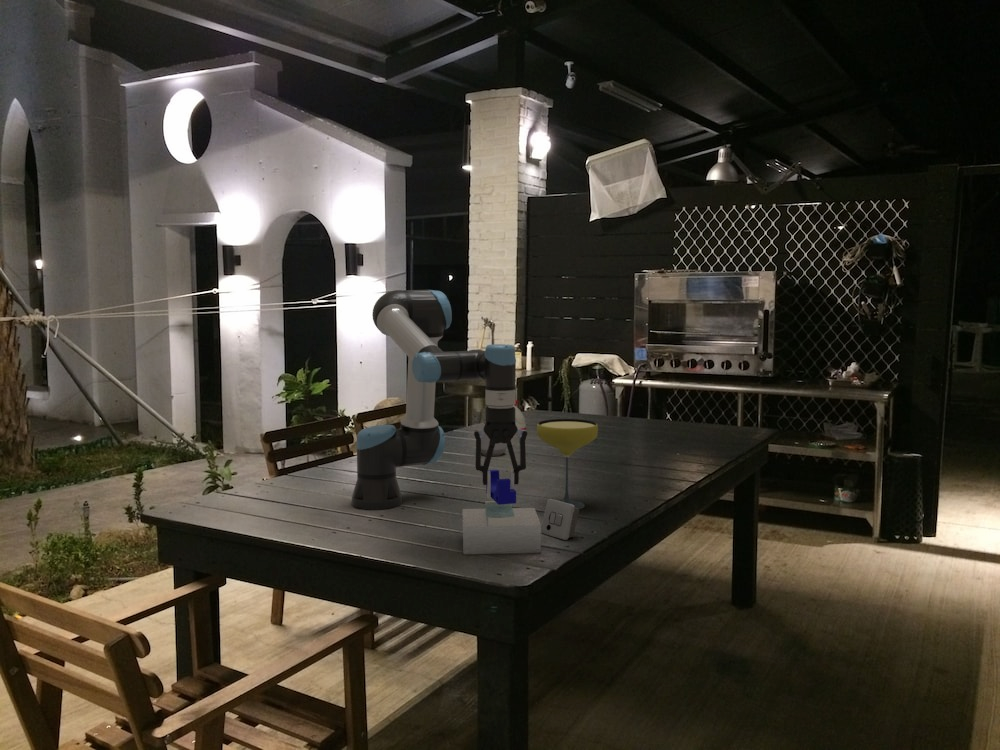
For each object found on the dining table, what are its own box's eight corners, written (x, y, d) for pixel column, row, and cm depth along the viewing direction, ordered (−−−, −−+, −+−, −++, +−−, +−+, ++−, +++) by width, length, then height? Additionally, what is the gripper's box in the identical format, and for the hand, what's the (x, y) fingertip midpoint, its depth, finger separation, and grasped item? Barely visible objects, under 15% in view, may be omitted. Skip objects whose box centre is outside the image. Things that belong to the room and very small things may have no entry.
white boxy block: (463, 554, 198) (463, 518, 197) (462, 534, 214) (462, 501, 213) (540, 552, 199) (541, 517, 199) (534, 533, 215) (534, 500, 214)
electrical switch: (540, 533, 216) (542, 498, 215) (553, 531, 219) (556, 497, 219) (565, 541, 209) (568, 506, 208) (579, 539, 212) (582, 504, 212)
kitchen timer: (532, 430, 377) (532, 398, 376) (512, 433, 367) (512, 400, 366) (510, 426, 387) (510, 395, 385) (489, 430, 377) (489, 398, 375)
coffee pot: (497, 458, 313) (497, 419, 311) (472, 455, 318) (472, 417, 317) (522, 449, 332) (522, 412, 330) (498, 446, 337) (498, 410, 335)
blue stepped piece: (516, 503, 200) (516, 479, 200) (498, 504, 199) (498, 480, 198) (503, 491, 212) (503, 469, 211) (486, 493, 210) (486, 470, 210)
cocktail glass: (524, 506, 242) (524, 424, 240) (559, 495, 256) (560, 416, 254) (574, 517, 231) (575, 430, 228) (608, 504, 244) (609, 422, 242)
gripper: (464, 408, 199) (464, 501, 201) (538, 407, 200) (538, 500, 202) (463, 404, 206) (464, 494, 209) (535, 403, 208) (535, 493, 210)
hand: (500, 496), depth 206 cm, fingers closed on blue stepped piece, 5 cm apart
